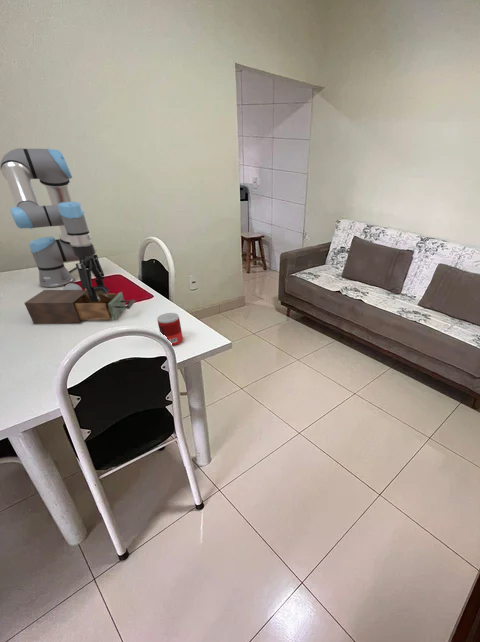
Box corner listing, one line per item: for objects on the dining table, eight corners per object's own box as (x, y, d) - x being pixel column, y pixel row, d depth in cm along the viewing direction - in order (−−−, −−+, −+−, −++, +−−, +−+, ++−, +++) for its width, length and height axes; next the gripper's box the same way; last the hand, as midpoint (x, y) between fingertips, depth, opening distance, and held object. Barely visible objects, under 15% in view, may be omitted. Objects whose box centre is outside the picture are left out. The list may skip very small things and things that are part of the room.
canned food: (187, 338, 133) (182, 314, 127) (174, 348, 126) (169, 323, 120) (171, 335, 135) (166, 311, 129) (158, 344, 128) (152, 319, 122)
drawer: (139, 307, 153) (135, 292, 149) (130, 320, 142) (125, 304, 138) (87, 308, 151) (81, 292, 147) (73, 321, 140) (66, 304, 136)
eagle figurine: (90, 303, 137) (112, 294, 141) (80, 287, 135) (102, 279, 139) (92, 306, 143) (112, 297, 147) (82, 291, 142) (103, 283, 146)
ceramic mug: (63, 304, 155) (57, 289, 151) (67, 298, 162) (62, 283, 158) (88, 303, 158) (83, 288, 154) (91, 296, 165) (87, 282, 161)
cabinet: (94, 309, 152) (88, 289, 147) (80, 323, 140) (72, 302, 135) (52, 309, 150) (44, 289, 145) (33, 324, 139) (24, 303, 133)
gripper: (79, 252, 121) (97, 307, 134) (102, 238, 139) (117, 288, 151) (58, 251, 121) (78, 307, 133) (84, 238, 138) (100, 288, 150)
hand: (99, 297), depth 142 cm, fingers closed on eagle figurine, 8 cm apart
